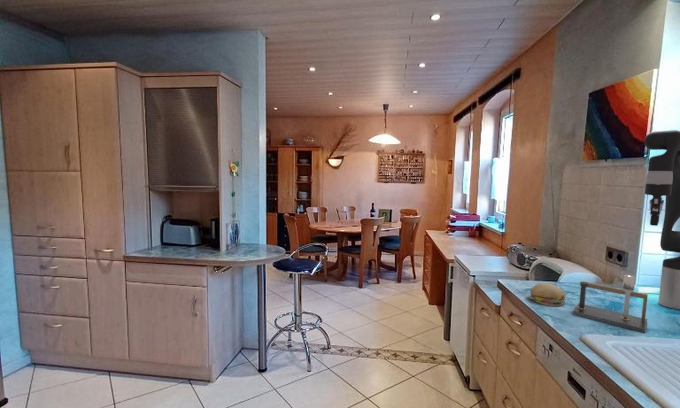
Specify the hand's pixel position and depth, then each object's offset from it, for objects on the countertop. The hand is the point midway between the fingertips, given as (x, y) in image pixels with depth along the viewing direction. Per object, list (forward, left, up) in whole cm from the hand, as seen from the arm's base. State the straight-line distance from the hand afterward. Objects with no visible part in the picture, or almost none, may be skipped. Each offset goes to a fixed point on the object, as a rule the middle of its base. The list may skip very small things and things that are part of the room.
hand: (654, 224), depth 132 cm
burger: (+9, -32, -38) cm, 51 cm away
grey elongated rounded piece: (+11, -5, -36) cm, 38 cm away
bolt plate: (+12, -10, -38) cm, 41 cm away
